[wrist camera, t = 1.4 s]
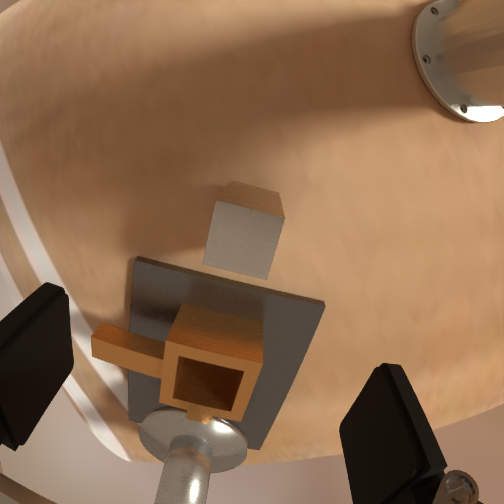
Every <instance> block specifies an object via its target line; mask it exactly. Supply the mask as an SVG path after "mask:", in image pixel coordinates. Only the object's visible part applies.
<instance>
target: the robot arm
mask: <svg viewBox="0 0 504 504" xmlns="http://www.w3.org/2000/svg"><path fill="white" fill-rule="evenodd" d="M412 49H413V55H414V59H415V62H416V65H417V68H418V71H419V73H420V75H421V77H422V79H423V81H424V83H425V84H426V86H427V87H428V89H429V90H430V92H431V93H432V95H433V96H434V97H435V98H436V99H437V100H438V102H439V103H440V104H441V105H442V106H444V107H445V108H446V109H447V110H448V111H449V112H451V113H452V114H454V115H456V116H457V117H459V118H461V119H464V120H467V121H469V122H477V123H488V122H492V121H495V120H497V119H499V118H500V117H502V116H503V115H504V0H462V1H459V0H437V1H434V2H432V3H430V4H429V5H427V6H426V7H424V8H423V9H422V10H421V11H420V13H419V14H418V15H417V17H416V19H415V22H414V24H413V30H412ZM423 59H424V61H423ZM73 365H74V357H73V349H72V339H71V327H70V313H69V297H68V295H67V294H65V290H64V288H62V287H60V286H57V285H54V284H52V283H49V282H46V283H44V284H43V285H41V286H40V287H39V288H38V289H37V290H36V291H34V292H33V293H32V294H31V295H30V296H28V297H27V298H26V299H25V300H24V301H23V302H21V303H20V304H19V305H18V306H17V307H16V308H15V309H14V310H12V311H11V312H10V313H9V314H8V315H7V316H6V317H5V318H3V319H2V320H1V321H0V445H1V444H4V445H5V446H7V447H9V448H10V449H12V450H14V451H16V449H17V448H18V446H19V445H24V444H25V442H26V441H27V440H28V438H29V436H30V435H31V433H32V431H33V430H34V428H35V427H36V425H37V423H38V422H39V420H40V418H41V417H42V415H43V414H44V412H45V410H46V409H47V407H48V406H49V404H50V403H51V401H52V400H53V398H54V397H55V395H56V394H57V392H58V390H59V389H60V387H61V386H62V384H63V383H64V381H65V380H66V378H67V377H68V376H69V374H70V373H71V371H72V369H73ZM339 433H340V438H341V443H342V448H343V453H344V458H345V463H346V468H347V473H348V479H349V484H350V490H351V495H352V501H353V504H483V503H481V502H479V501H478V498H479V490H478V486H477V484H476V482H475V480H474V479H473V478H472V477H471V476H470V475H469V474H467V473H466V472H463V471H460V470H453V471H449V472H448V473H447V474H445V473H444V469H445V468H446V467H447V463H446V461H445V459H444V456H443V454H442V452H441V449H440V447H439V445H438V442H437V440H436V438H435V436H434V433H433V431H432V429H431V426H430V424H429V422H428V420H427V418H426V415H425V413H424V411H423V409H422V407H421V405H420V403H419V401H418V398H417V396H416V394H415V392H414V390H413V388H412V386H411V384H410V382H409V380H408V378H407V376H406V374H405V372H404V370H403V368H402V367H401V365H398V364H389V363H382V364H381V365H380V366H379V367H376V368H375V369H374V370H373V372H372V374H371V376H370V377H369V379H368V381H367V382H366V384H365V386H364V387H363V389H362V391H361V392H360V394H359V396H358V397H357V399H356V400H355V402H354V403H353V405H352V407H351V408H350V410H349V411H348V413H347V414H346V416H345V417H344V419H343V420H342V422H341V424H340V428H339ZM0 504H57V503H55V502H53V501H51V500H49V499H47V498H45V497H43V496H41V495H39V494H37V493H35V492H33V491H31V490H30V489H28V488H26V487H24V486H22V485H21V484H19V483H17V482H15V481H13V480H12V479H10V478H8V477H7V476H5V475H3V471H2V467H1V462H0Z"/></svg>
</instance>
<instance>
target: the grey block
mask: <svg viewBox="0 0 504 504" xmlns="http://www.w3.org/2000/svg"><path fill="white" fill-rule="evenodd" d="M284 219H285V216H284V211H283V207H282V203H281V198H280V194H279V192H275V191H271V190H267V189H264V188H260V187H256V186H252V185H248V184H243V183H239V182H235V181H231V180H230V181H229V183H228V184H227V185H226V187H225V188H224V190H223V191H222V192H221V194H220V195H219V197H218V198H217V199H216V202H215V206H214V211H213V215H212V220H211V225H210V229H209V234H208V239H207V243H206V248H205V253H204V258H203V263H202V264H203V265H207V266H211V267H215V268H220V269H224V270H228V271H232V272H236V273H240V274H244V275H248V276H252V277H256V278H261V279H265V280H267V277H268V274H269V271H270V267H271V264H272V261H273V257H274V254H275V250H276V247H277V244H278V240H279V237H280V233H281V230H282V226H283V223H284Z"/></svg>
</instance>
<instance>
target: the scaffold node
mask: <svg viewBox="0 0 504 504" xmlns="http://www.w3.org/2000/svg"><path fill="white" fill-rule="evenodd" d="M324 309H325V303H324V301H320V300H316V299H312V298H307V297H303V296H298V295H294V294H289V293H285V292H281V291H277V290H272V289H268V288H264V287H259V286H255V285H251V284H247V283H243V282H239V281H234V280H230V279H226V278H222V277H218V276H214V275H210V274H206V273H202V272H198V271H194V270H190V269H186V268H182V267H178V266H175V265H171V264H167V263H163V262H159V261H155V260H152V259H148V258H144V257H140V256H138V257H137V258H136V259H135V262H134V272H133V284H132V296H131V311H130V330H129V331H126V330H123V329H119V328H116V327H113V326H110V325H107V324H104V323H101V324H100V325H99V327H98V328H97V329H96V331H95V332H94V333H93V335H92V336H91V348H92V357H95V358H98V359H100V360H103V361H106V362H109V363H112V364H115V365H118V366H121V367H124V368H127V369H128V404H129V420H132V421H135V422H138V423H141V426H140V429H139V438H140V441H141V442H142V444H143V446H144V447H145V448H146V449H147V450H148V451H149V452H150V453H151V454H152V455H153V456H155V457H156V458H157V459H159V460H161V461H162V462H164V463H165V464H164V467H163V471H162V475H161V479H160V483H159V487H158V490H157V494H156V499H155V502H154V504H206V499H207V492H208V486H209V479H210V473H218V472H224V471H228V470H231V469H233V468H235V467H237V466H239V465H240V464H241V463H242V462H243V461H244V460H245V458H246V456H247V448H249V449H255V450H260V448H261V446H262V444H263V442H264V440H265V438H266V436H267V434H268V432H269V430H270V428H271V426H272V425H273V423H274V421H275V418H276V416H277V414H278V412H279V410H280V408H281V406H282V404H283V402H284V400H285V398H286V396H287V394H288V392H289V389H290V387H291V385H292V383H293V381H294V379H295V377H296V374H297V372H298V370H299V368H300V365H301V363H302V361H303V359H304V356H305V354H306V352H307V350H308V347H309V345H310V343H311V340H312V338H313V336H314V333H315V331H316V329H317V326H318V324H319V321H320V319H321V316H322V314H323V312H324Z"/></svg>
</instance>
